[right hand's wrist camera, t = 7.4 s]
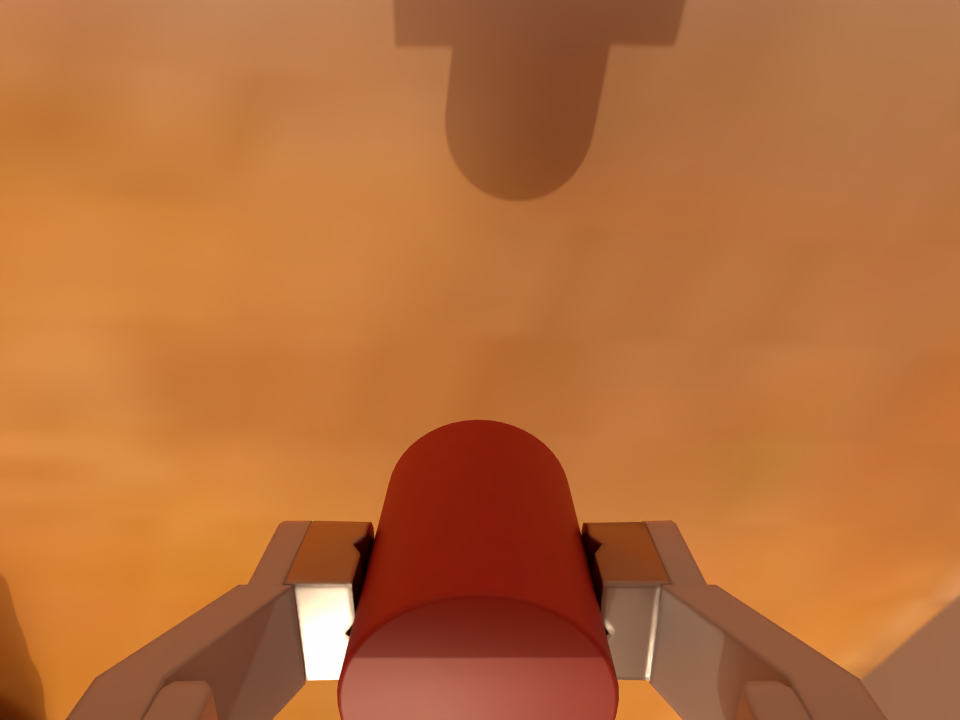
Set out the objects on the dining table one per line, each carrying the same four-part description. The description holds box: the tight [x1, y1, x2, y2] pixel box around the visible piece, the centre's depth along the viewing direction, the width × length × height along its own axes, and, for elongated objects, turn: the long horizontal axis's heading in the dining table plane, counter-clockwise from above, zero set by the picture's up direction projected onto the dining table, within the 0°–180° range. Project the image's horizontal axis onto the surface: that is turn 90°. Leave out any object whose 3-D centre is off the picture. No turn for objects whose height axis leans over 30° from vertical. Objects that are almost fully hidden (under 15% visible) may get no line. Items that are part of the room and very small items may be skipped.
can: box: [337, 420, 619, 720], centre depth 10 cm, size 4×4×5 cm
